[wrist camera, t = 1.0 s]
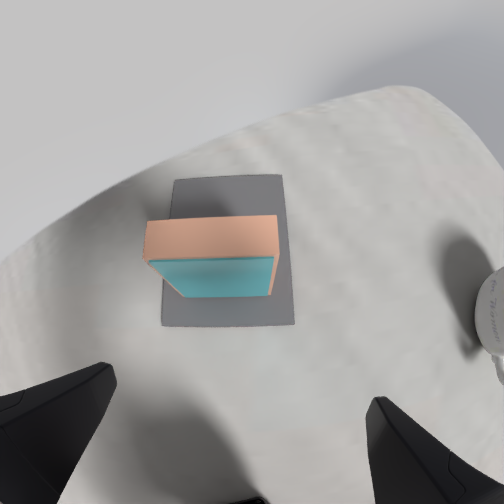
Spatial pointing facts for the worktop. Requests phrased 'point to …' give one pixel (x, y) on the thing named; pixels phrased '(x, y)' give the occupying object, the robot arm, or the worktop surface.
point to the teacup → (492, 319)
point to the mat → (224, 205)
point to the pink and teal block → (215, 254)
